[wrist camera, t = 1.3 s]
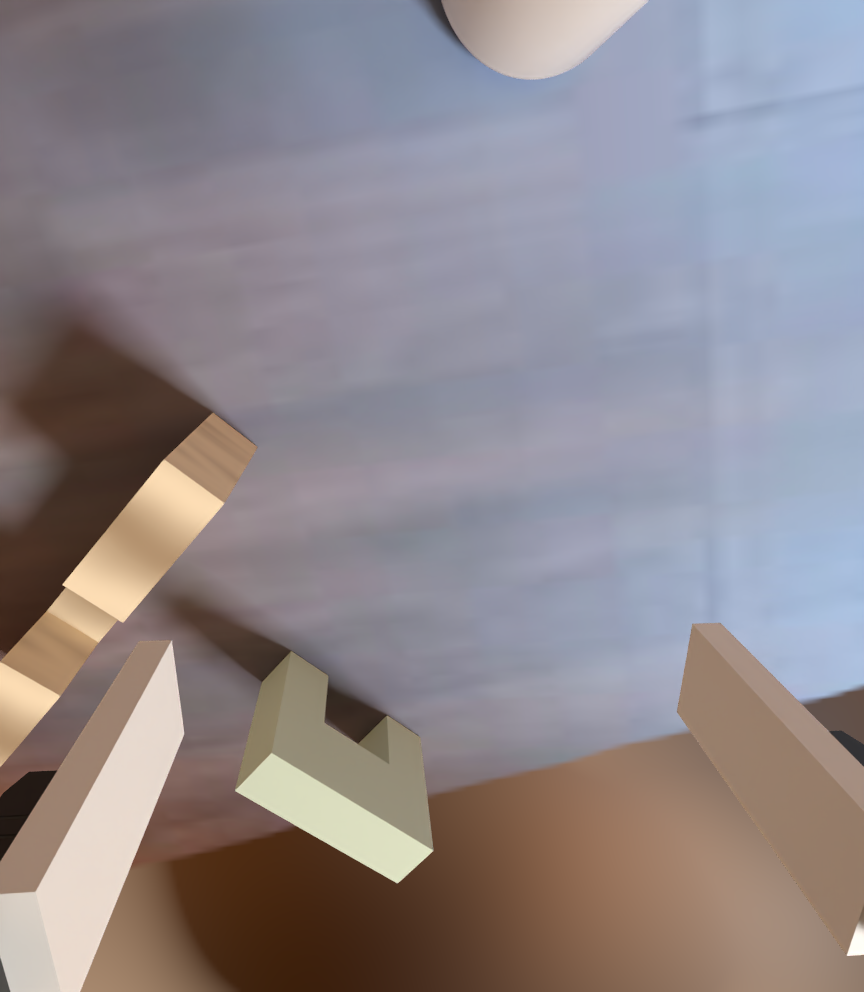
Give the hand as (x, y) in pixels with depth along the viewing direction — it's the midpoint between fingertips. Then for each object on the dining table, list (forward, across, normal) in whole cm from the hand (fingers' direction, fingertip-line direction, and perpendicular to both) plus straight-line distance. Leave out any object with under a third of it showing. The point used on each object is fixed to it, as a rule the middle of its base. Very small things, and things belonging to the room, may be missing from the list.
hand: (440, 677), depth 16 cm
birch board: (+22, -16, -6) cm, 27 cm away
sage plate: (+22, -4, -18) cm, 28 cm away
